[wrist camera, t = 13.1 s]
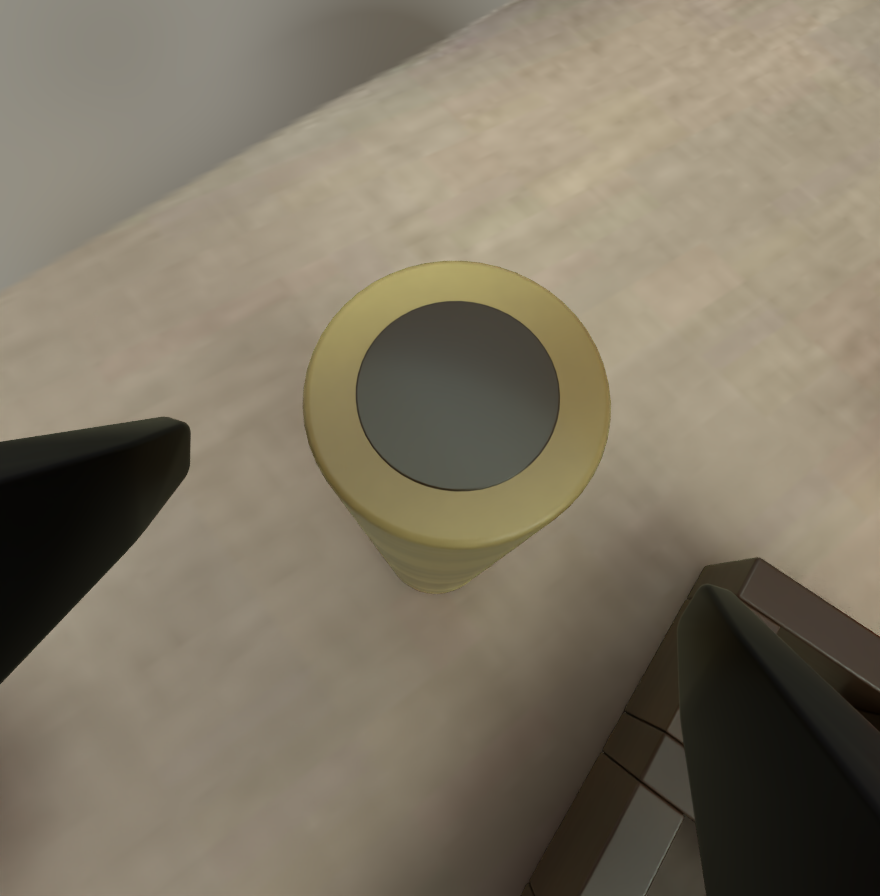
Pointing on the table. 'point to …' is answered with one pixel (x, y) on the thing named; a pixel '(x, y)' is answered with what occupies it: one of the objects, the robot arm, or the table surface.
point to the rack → (661, 743)
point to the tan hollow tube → (455, 415)
